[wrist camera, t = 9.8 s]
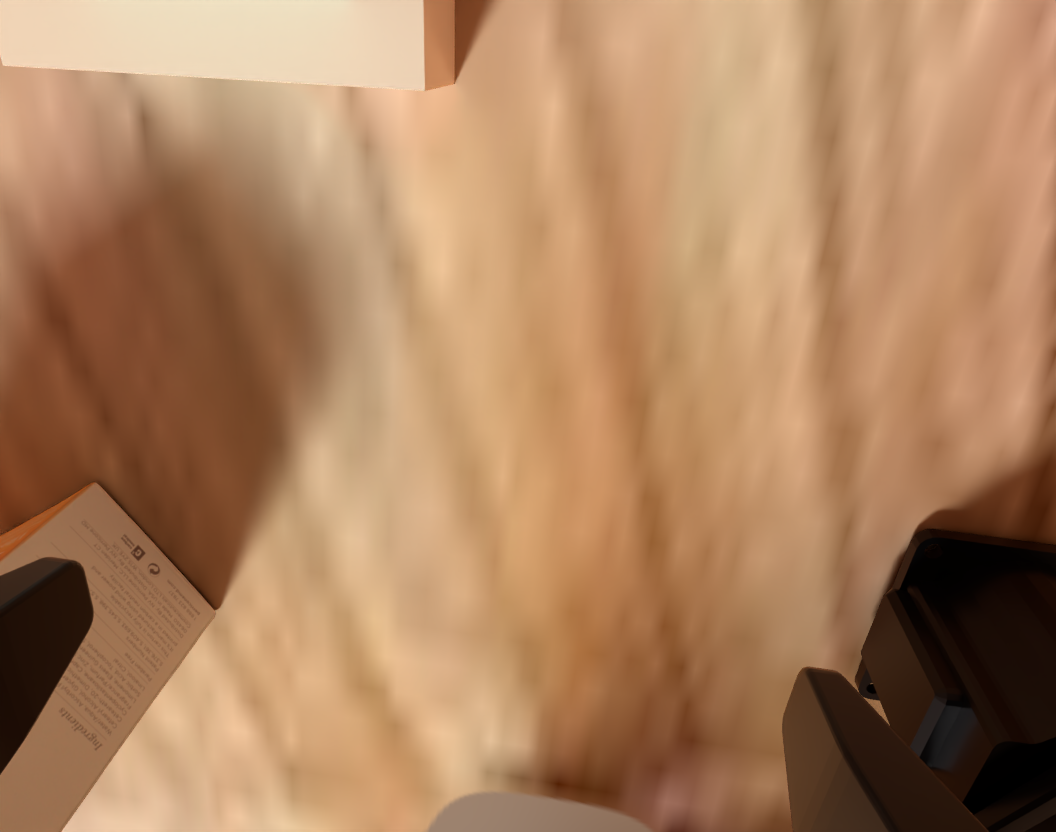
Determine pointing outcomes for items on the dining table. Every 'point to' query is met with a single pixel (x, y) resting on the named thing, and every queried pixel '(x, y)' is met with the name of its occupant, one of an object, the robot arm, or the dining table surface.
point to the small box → (97, 653)
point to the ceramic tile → (239, 39)
